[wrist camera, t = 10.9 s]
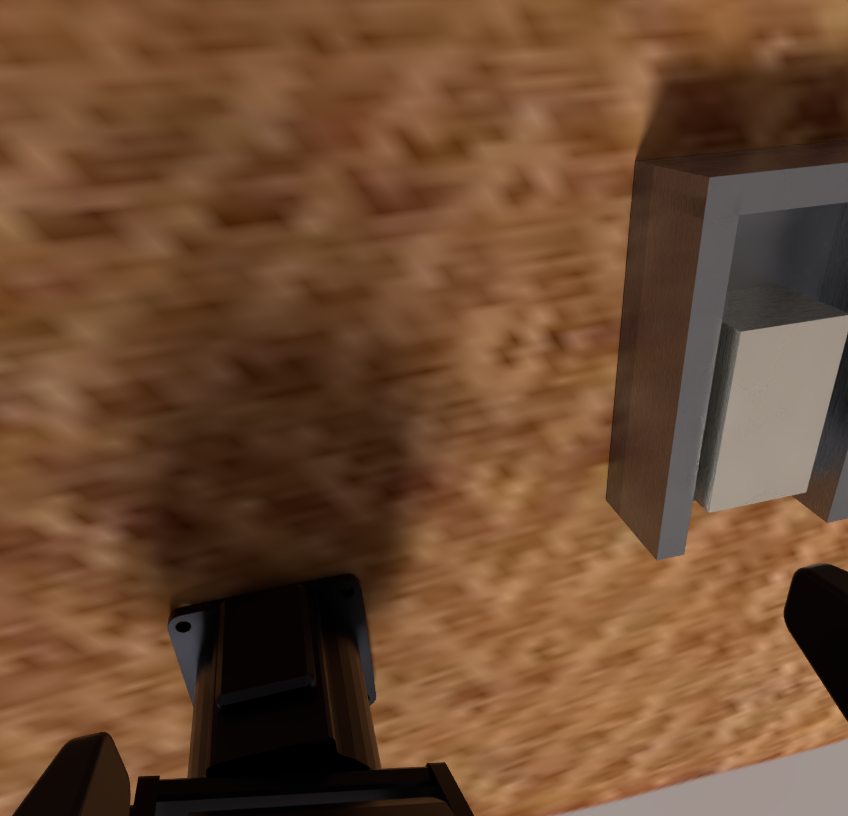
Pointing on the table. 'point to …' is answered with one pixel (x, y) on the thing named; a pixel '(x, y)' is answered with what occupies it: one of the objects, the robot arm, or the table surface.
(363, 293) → the table surface
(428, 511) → the table surface
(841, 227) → the gray compartment tray
